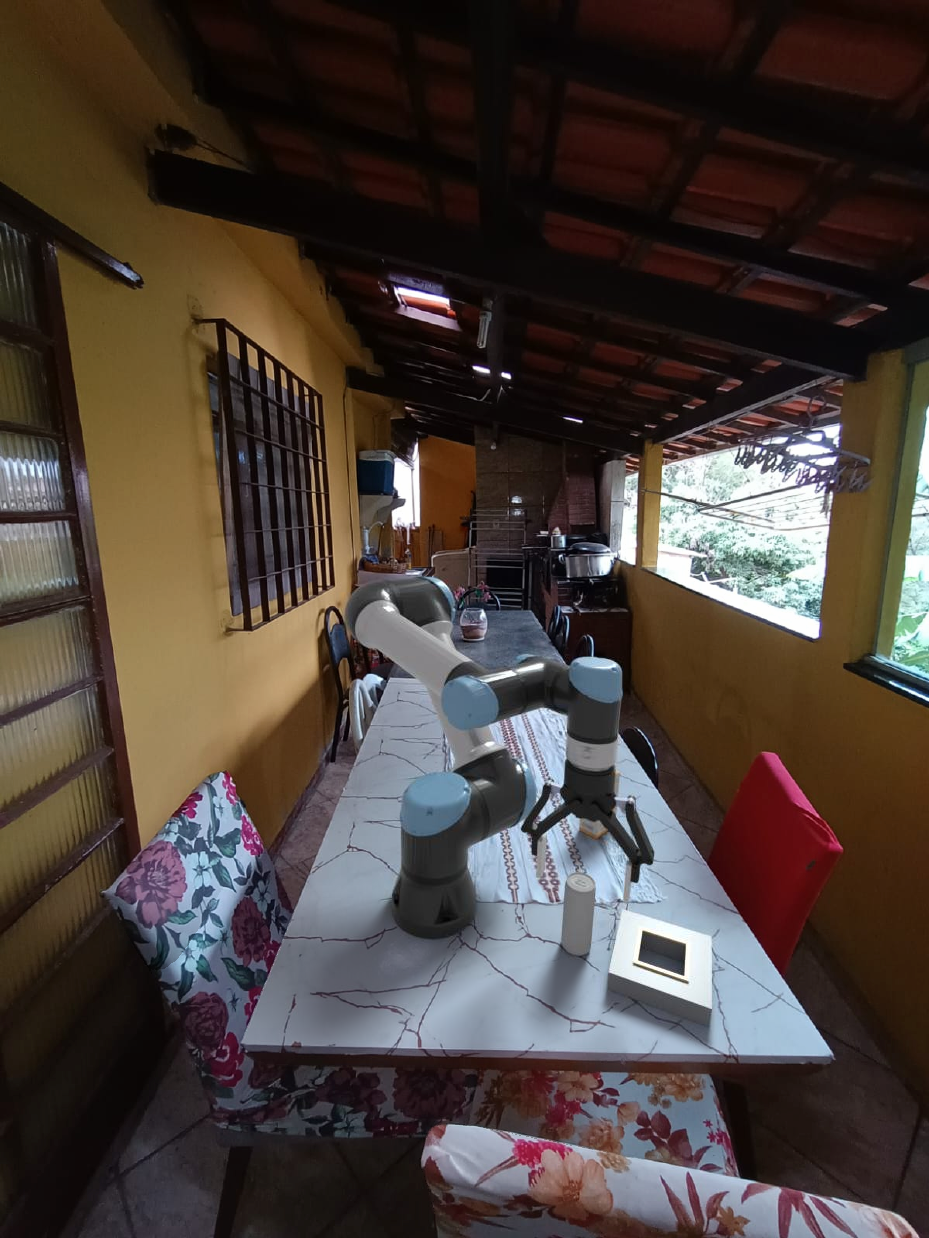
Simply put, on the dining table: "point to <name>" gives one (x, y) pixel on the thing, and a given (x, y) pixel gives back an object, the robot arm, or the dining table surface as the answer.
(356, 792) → the dining table surface
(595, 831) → the supplement box
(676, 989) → the socket plate
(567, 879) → the beverage can
